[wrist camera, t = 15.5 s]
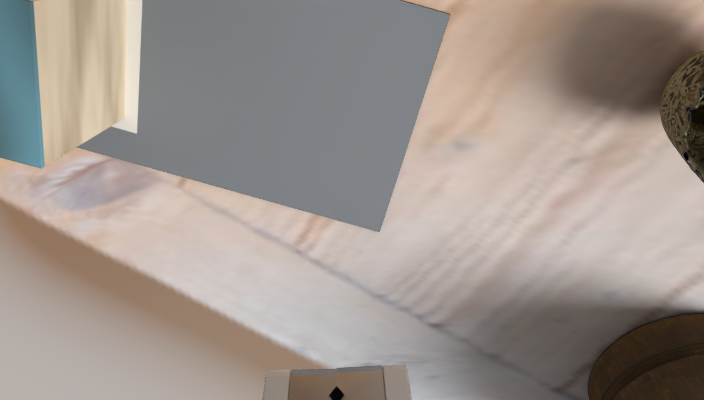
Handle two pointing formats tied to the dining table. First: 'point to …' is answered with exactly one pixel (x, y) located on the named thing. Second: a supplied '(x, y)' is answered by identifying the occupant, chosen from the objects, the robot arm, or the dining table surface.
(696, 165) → the cup
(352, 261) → the dining table surface
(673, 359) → the wooden container
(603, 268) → the dining table surface
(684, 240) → the dining table surface
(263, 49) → the charcoal mat
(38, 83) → the maple cube
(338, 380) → the robot arm
